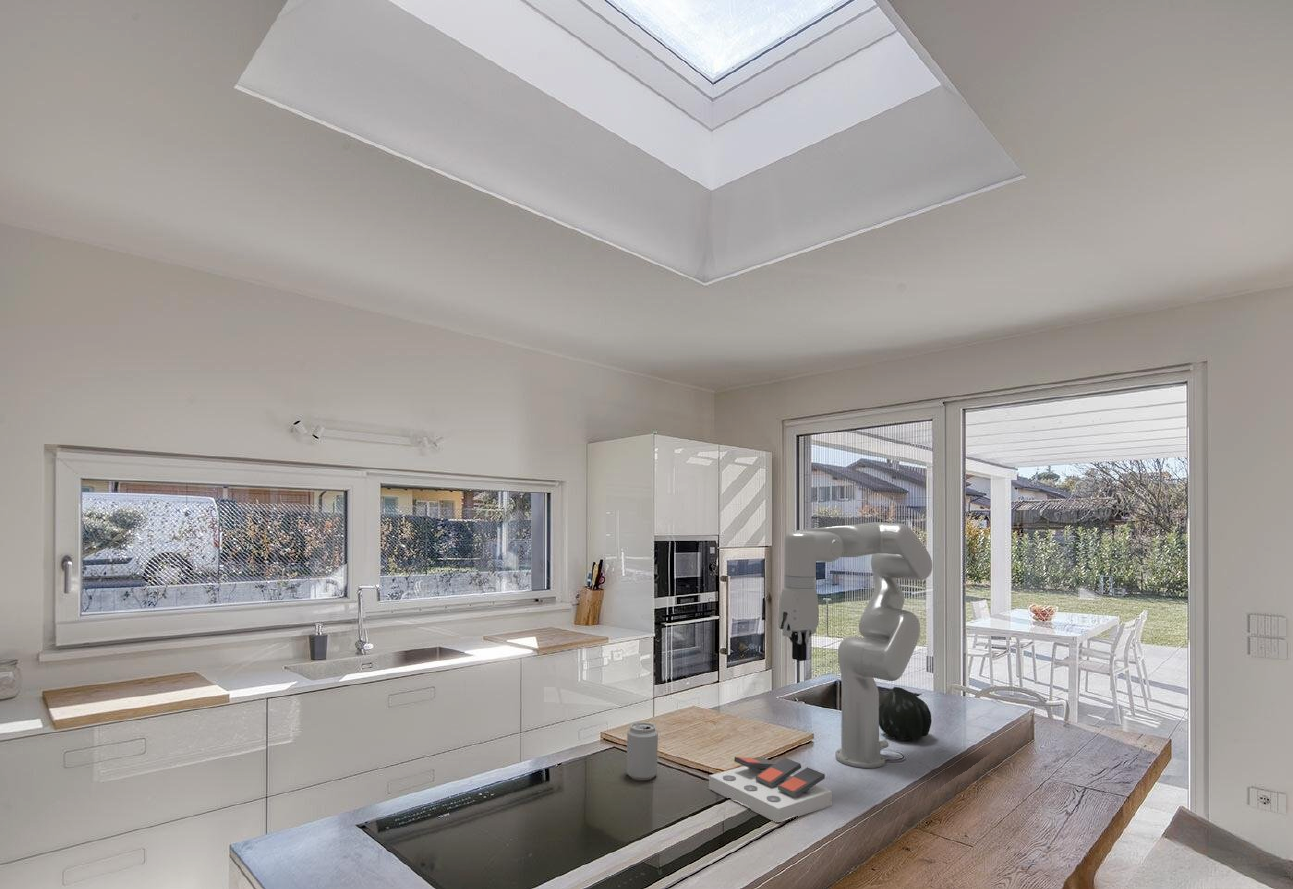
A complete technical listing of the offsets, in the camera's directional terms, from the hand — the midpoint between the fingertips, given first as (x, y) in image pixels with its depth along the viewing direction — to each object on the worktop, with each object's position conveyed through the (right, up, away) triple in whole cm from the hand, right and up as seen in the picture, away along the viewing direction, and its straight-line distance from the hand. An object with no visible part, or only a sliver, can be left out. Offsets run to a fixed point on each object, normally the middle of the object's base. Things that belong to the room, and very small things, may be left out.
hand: (799, 659), depth 178 cm
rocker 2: (-3, -23, -14) cm, 27 cm away
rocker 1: (-11, -24, -3) cm, 26 cm away
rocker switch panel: (-9, -28, -11) cm, 32 cm away
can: (-38, -29, 0) cm, 48 cm away
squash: (+38, -33, +35) cm, 61 cm away
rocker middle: (-7, -23, -9) cm, 26 cm away
